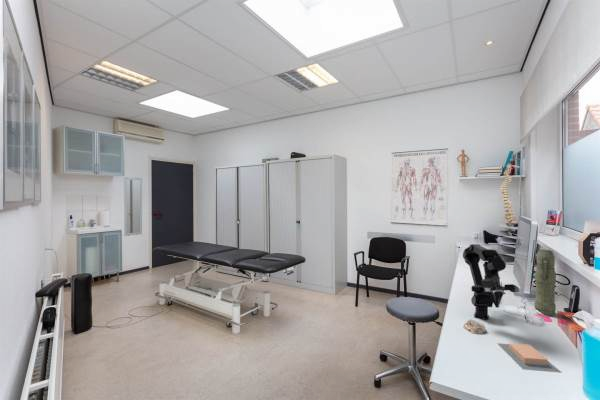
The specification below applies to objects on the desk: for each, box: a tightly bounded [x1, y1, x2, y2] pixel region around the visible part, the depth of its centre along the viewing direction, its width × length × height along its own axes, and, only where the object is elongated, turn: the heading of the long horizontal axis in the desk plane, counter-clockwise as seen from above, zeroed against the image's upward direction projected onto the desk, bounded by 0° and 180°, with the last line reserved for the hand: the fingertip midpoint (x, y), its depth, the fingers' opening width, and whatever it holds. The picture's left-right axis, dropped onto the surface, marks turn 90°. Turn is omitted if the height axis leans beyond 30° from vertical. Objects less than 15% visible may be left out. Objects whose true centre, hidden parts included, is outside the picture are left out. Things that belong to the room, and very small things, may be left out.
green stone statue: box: [534, 249, 557, 317], centre depth 160 cm, size 9×12×35 cm
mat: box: [496, 342, 562, 373], centre depth 117 cm, size 19×13×1 cm
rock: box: [462, 319, 487, 335], centre depth 140 cm, size 11×8×6 cm
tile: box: [508, 342, 549, 366], centre depth 116 cm, size 2×8×11 cm
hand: (497, 307), depth 137 cm, fingers closed
